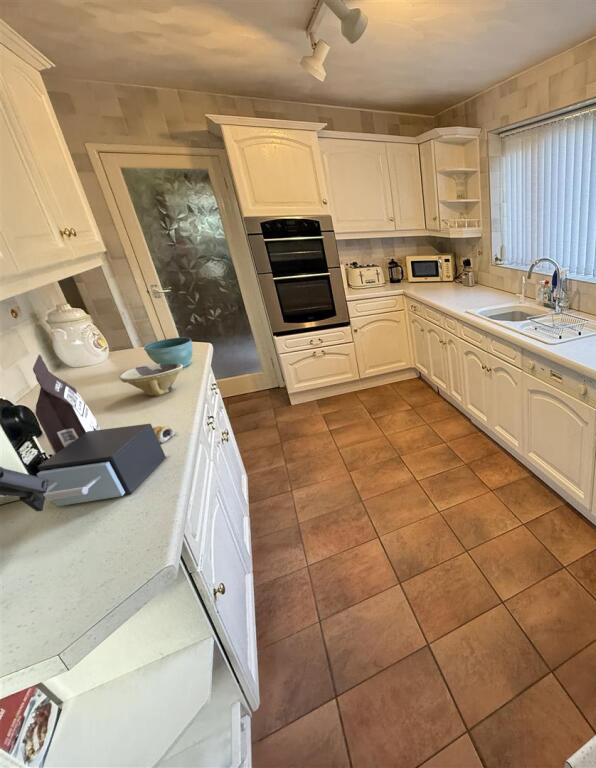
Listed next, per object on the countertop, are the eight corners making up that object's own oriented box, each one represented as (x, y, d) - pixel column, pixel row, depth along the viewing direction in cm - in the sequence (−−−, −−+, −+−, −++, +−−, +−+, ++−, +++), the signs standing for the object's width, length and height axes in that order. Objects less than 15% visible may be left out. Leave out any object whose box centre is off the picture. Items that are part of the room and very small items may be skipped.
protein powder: (108, 460, 107) (58, 364, 96) (62, 474, 102) (3, 374, 90) (107, 438, 118) (62, 349, 107) (65, 449, 113) (13, 358, 101)
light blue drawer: (105, 513, 87) (86, 480, 83) (34, 525, 84) (12, 491, 80) (156, 461, 105) (143, 432, 101) (100, 469, 102) (84, 439, 98)
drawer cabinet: (131, 494, 94) (111, 456, 89) (61, 505, 91) (36, 466, 86) (166, 457, 108) (150, 423, 103) (106, 466, 105) (87, 431, 100)
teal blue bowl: (196, 368, 171) (188, 344, 167) (149, 376, 164) (138, 351, 160) (201, 357, 184) (193, 335, 180) (157, 364, 177) (148, 341, 173)
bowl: (189, 394, 146) (180, 370, 143) (125, 407, 137) (113, 382, 133) (192, 379, 160) (183, 357, 156) (134, 390, 151) (123, 367, 147)
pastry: (129, 445, 114) (123, 434, 112) (148, 433, 120) (143, 423, 119) (162, 444, 114) (157, 433, 112) (179, 432, 120) (175, 421, 119)
